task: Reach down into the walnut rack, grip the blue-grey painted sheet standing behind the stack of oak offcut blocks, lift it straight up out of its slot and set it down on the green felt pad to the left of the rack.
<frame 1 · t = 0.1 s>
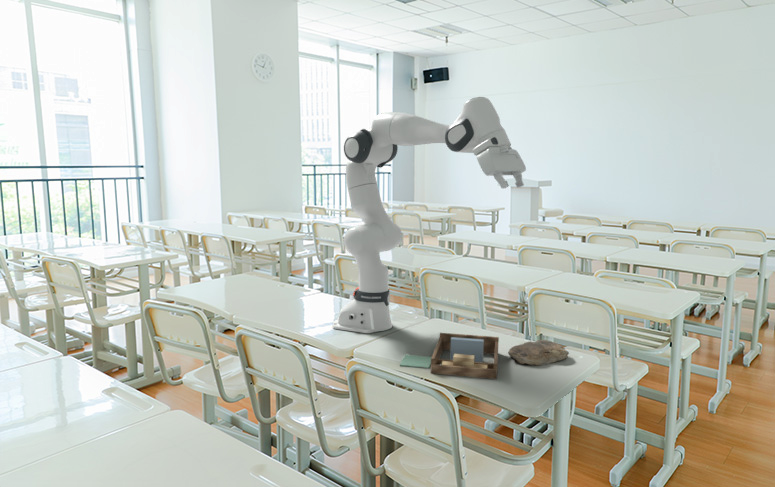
hand: (513, 187, 161), 54 cm above the table, tool tilted 30°, fingers open, 8 cm apart
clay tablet: (534, 359, 174), on the table
sheet: (466, 360, 171), resting in rack
rack: (466, 362, 169), on the table
pad: (416, 361, 169), on the table
offcut a: (451, 371, 162), resting in rack, touching offcut top
offcut top: (463, 364, 161), point 2 cm above the table, touching offcut a
offcut b: (476, 373, 161), resting in rack
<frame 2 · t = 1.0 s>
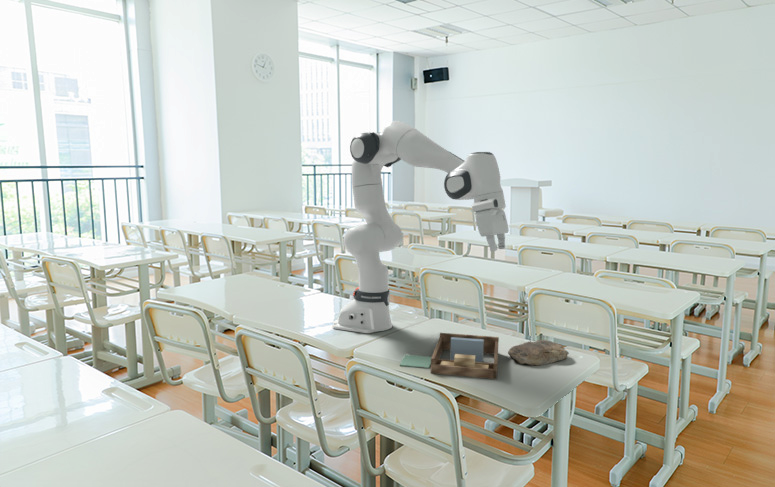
hand: (498, 250, 162), 36 cm above the table, tool pointing down, fingers open, 8 cm apart
offcut top: (464, 364, 161), point 2 cm above the table, touching offcut a, offcut b
offcut b: (477, 373, 161), resting in rack, touching offcut top
everything else where it was.
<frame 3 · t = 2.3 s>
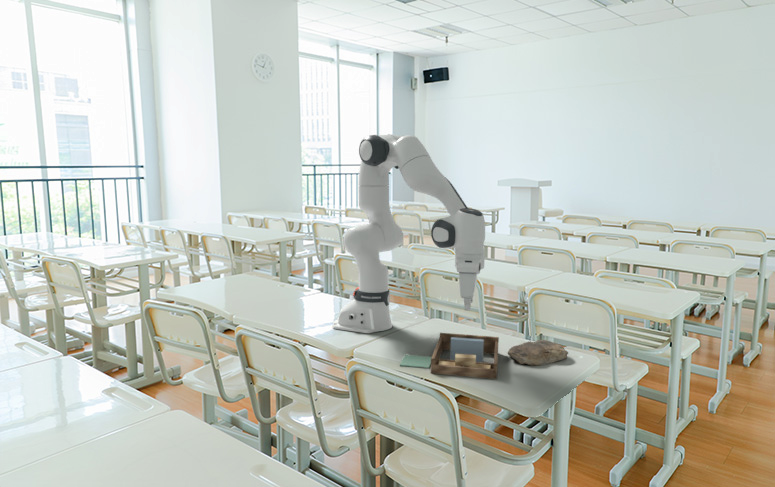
hand: (468, 306, 168), 18 cm above the table, tool pointing down, fingers open, 8 cm apart
offcut top: (465, 364, 161), point 2 cm above the table, touching offcut a
offcut b: (479, 374, 161), resting in rack
everything else where it was.
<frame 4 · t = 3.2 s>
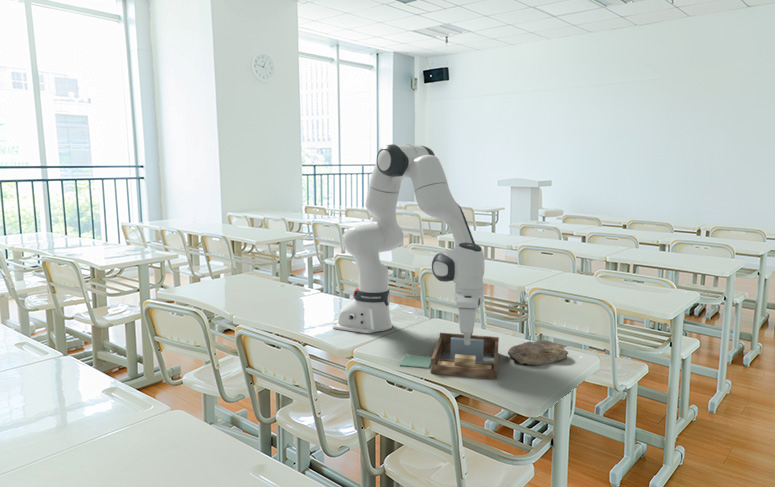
hand: (468, 339, 169), 7 cm above the table, tool pointing down, fingers open, 8 cm apart
offcut a: (447, 371, 162), resting in rack
offcut top: (464, 364, 161), point 2 cm above the table
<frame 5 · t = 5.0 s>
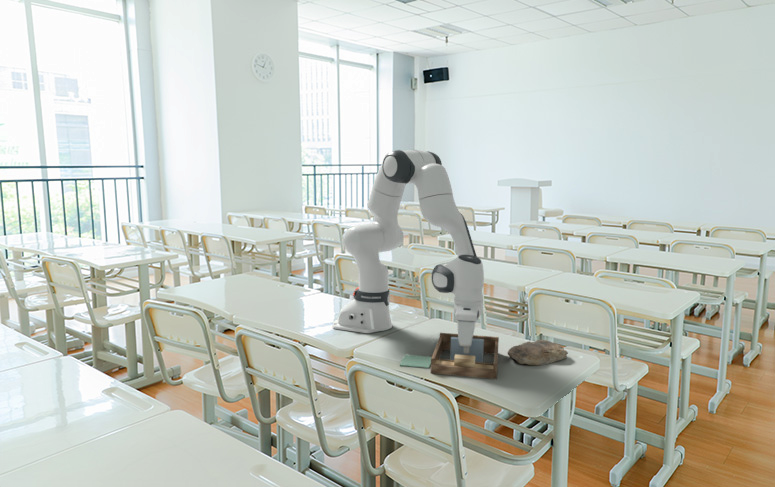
hand: (466, 350, 170), 3 cm above the table, tool pointing down, fingers closed on sheet, 2 cm apart
sheet: (466, 360, 171), resting in rack, touching gripper
offcut a: (445, 370, 163), resting in rack, touching offcut top
offcut top: (464, 365, 161), point 2 cm above the table, touching offcut a
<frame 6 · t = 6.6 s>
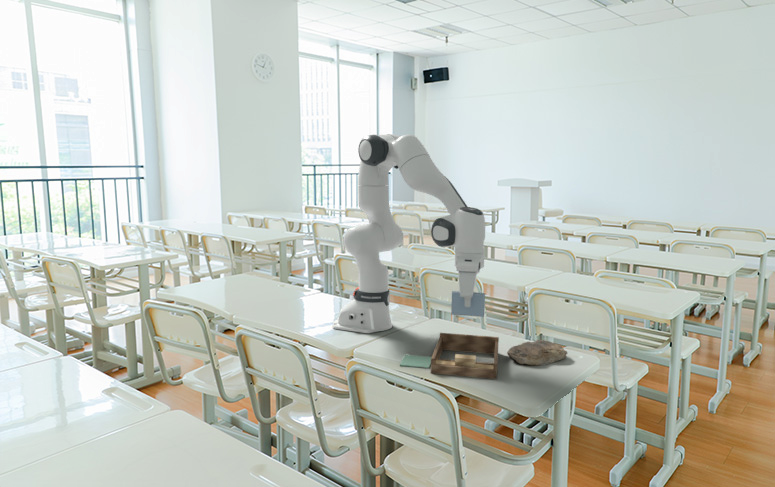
hand: (468, 305, 168), 18 cm above the table, tool pointing down, fingers closed on sheet
sheet: (467, 314, 169), point 15 cm above the table, touching gripper
offcut a: (445, 370, 163), resting in rack
offcut top: (465, 364, 161), point 2 cm above the table
everything else where it was.
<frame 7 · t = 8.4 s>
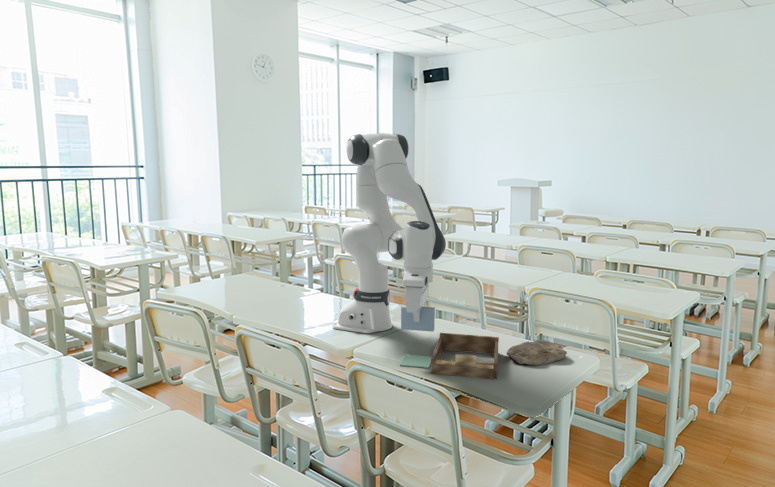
hand: (417, 319, 167), 14 cm above the table, tool pointing down, fingers closed on sheet
sheet: (417, 329, 167), point 10 cm above the table, touching gripper
offcut a: (445, 370, 163), resting in rack, touching offcut top
offcut top: (465, 364, 161), point 2 cm above the table, touching offcut a, offcut b
offcut b: (482, 374, 161), resting in rack, touching offcut top
everything else where it was.
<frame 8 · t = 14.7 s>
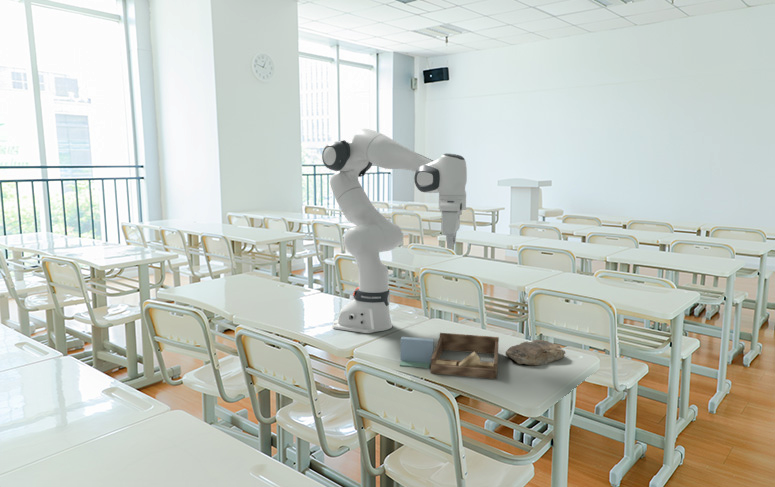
hand: (451, 246, 180), 34 cm above the table, tool pointing down, fingers open, 8 cm apart
sheet: (416, 360, 169), resting on pad
offcut a: (445, 370, 163), resting in rack
offcut top: (471, 365, 161), point 2 cm above the table, tilted 42°
offcut b: (483, 371, 162), resting in rack
everything else where it was.
at the end: sheet inside the target area (0.3 cm from its centre), resting on pad; the gripper is holding nothing; offcut top moved 2.3 cm from its start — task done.
